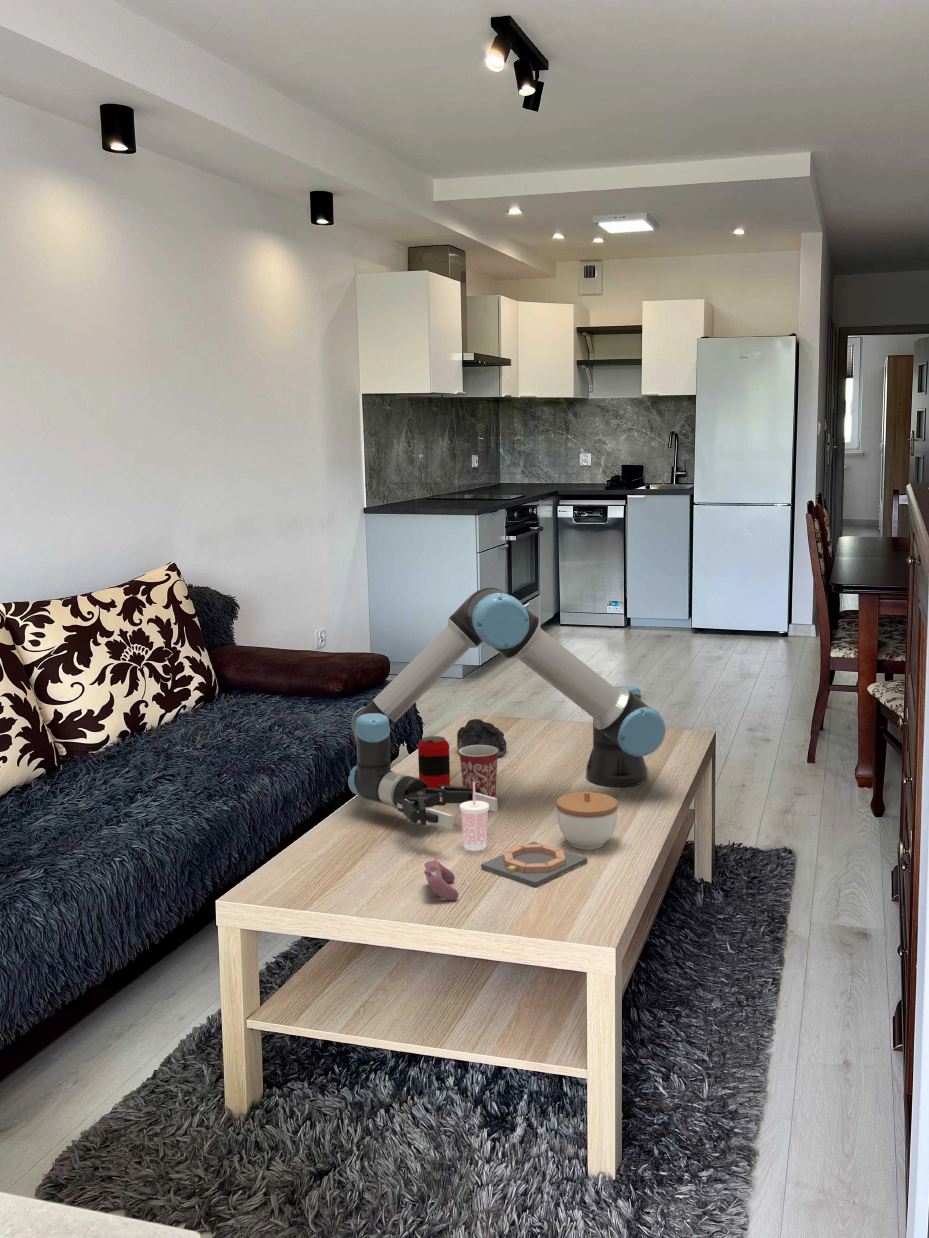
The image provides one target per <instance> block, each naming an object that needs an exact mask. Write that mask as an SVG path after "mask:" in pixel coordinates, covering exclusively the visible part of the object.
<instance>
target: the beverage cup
mask: <svg viewBox="0 0 929 1238" xmlns="http://www.w3.org/2000/svg"><path fill="white" fill-rule="evenodd" d="M459 810H460V813H461V825H462V837H463V838H462V839H463V847H464V849H465V850H467V851H471V852H477V851H483V850H485V849H486V848H487V839H488V818H489V817H488V816H489V814H488V813H489V811H490V810H489V804H488V803H486V802H483V801H475V782H473V801H467V802H463V803H459Z"/></svg>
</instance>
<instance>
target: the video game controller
mask: <svg viewBox="0 0 929 1238" xmlns="http://www.w3.org/2000/svg"><path fill="white" fill-rule="evenodd" d="M424 867H425V870H423V873H424V876H425V879H426V881H427V884H428V886H429V888H430V889H431V890H432V893H433V894H436V896H437V897H441V898H443V899H445V900H447V901H450V902H451V901H453V902H454V901H457V900H458V899H459V892H458V891H457V890H456V889H455V888H454V887H453V886H451V885H450V884H452V883H453V882H455V880H456V878H455V875H454V873H453V871H451V870H450V869H449V868H447V867H445V866H444V865H442V864H441V862H439V860H436V858H434V859H433V860H431V859H430V860H428V861H426V862H425V863H424Z"/></svg>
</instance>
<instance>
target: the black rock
mask: <svg viewBox="0 0 929 1238" xmlns="http://www.w3.org/2000/svg"><path fill="white" fill-rule="evenodd" d="M456 733H457V735H456V747H457V750H458V751H459V750H460V749H461V748H463V747H466V746H471V745H489V746H493V747H496V748H498V750H499V751H498V755H497V758H498V757H501V756H505V753H507V741H506V739H505V734H504V733H503V731H502V730H500V728H498V727H496V726H495V725H494V724H492V723H491V722H486V721H484V720H482V718H474V719H472V718H471V719H469V720H468V721H467V722H466V724H465V725H464V726H462V727H460V728H459V729H458V731H457V732H456ZM458 755H459V756H460V754H459V753H458Z"/></svg>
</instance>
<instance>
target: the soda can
mask: <svg viewBox="0 0 929 1238" xmlns="http://www.w3.org/2000/svg"><path fill="white" fill-rule="evenodd" d="M417 753H418V756H417V757H418V779H421V780H422V781H424V783H425V784H426V786H427V787H428V788H434V789H439V785H441V784H442V785H447V786H451V769H450V766H451V765H450V742H449V741H447V740H446V738H445V737H443V736H440V735H431V736H424V737H422V739H421V740H420V742H419V743H418V744H417Z"/></svg>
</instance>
